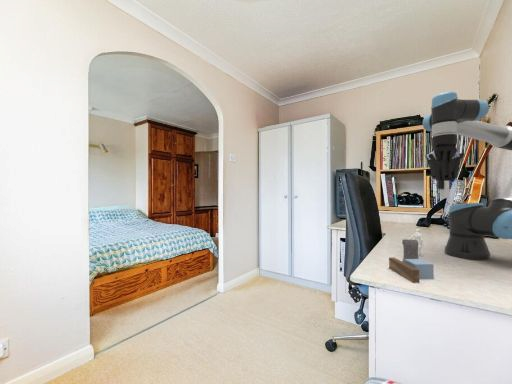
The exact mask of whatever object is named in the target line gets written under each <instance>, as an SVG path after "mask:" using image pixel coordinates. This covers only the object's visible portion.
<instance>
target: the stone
mask: <svg viewBox="0 0 512 384" xmlns="http://www.w3.org/2000/svg"><path fill="white" fill-rule="evenodd" d="M407 239H408V240H407ZM407 239H404V238H403V239H402V245H403V246H402V248H403V255H402V256H403V257H402V258H403V259H402V262H404V259H420V258H419V254H418V241H417V240H415V239H410V238H407ZM409 239H410V240H409Z"/></svg>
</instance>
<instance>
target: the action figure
mask: <svg viewBox="0 0 512 384" xmlns="http://www.w3.org/2000/svg"><path fill="white" fill-rule="evenodd" d="M420 232H421V229H420V228H416V230H415V233H413V234H412V236H410V237H409V238H407V239H406V240H408V239H409V240H417V241H418V257H424V255H423V253H422V247H424V244H423V243H422V242H423V241H424V239H423V234H422V233H420ZM413 238H414V239H413Z"/></svg>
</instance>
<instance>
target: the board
mask: <svg viewBox="0 0 512 384" xmlns="http://www.w3.org/2000/svg"><path fill="white" fill-rule="evenodd" d="M388 265H389V266H388V268H389V269H390V270H392V271H394V272H395V273H397V274H398V275H400V276H401V277H403V278H405V279H406V280H408V281H410V282H412V283H420V279H419V270H418V269H416V268H414V267H412V266H410V265H408V264H406V263H404V262H403V260H400V259H398V258H396V257H388Z"/></svg>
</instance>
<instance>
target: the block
mask: <svg viewBox="0 0 512 384" xmlns="http://www.w3.org/2000/svg"><path fill="white" fill-rule="evenodd" d="M404 263H406V264H408V265H410V266H412V267H414V268H416V269H418V270H419V280H434V278H435V277H434V273H435V272H434V268H435V267H434V264H433V263H432V262H430V261H427V260H425V259H422V258H419V259H404Z"/></svg>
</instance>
